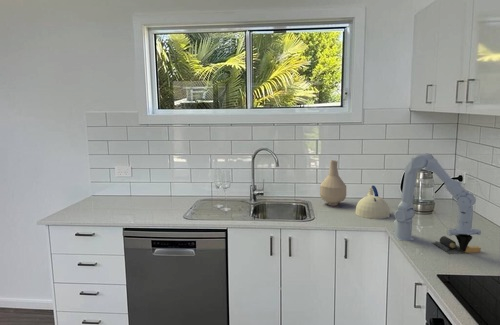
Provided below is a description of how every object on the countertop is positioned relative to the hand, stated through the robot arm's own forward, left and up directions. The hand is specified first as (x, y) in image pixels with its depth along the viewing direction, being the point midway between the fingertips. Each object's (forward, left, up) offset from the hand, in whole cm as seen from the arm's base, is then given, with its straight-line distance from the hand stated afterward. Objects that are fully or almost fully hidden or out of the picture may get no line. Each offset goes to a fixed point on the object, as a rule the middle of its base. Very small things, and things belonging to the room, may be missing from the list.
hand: (462, 250), depth 169 cm
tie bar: (0, +4, -1) cm, 5 cm away
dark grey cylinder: (-7, -3, -1) cm, 8 cm away
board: (-2, -3, -1) cm, 4 cm away
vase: (-92, -32, -2) cm, 97 cm away
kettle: (-66, -15, -2) cm, 67 cm away
